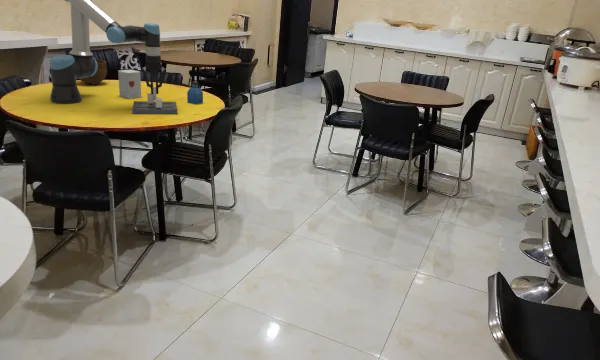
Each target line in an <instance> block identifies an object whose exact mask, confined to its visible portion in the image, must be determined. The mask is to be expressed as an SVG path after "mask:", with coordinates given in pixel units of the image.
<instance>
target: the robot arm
mask: <svg viewBox="0 0 600 360" xmlns="http://www.w3.org/2000/svg"><path fill="white" fill-rule="evenodd" d="M64 1H65V2H66V3H69V4H70V18H71V19H70V22H71V41H72V42H71V43H72V46H71V47H72V49H71V50H70V51H69V54H61V55H55V56H54V55H53V56H52V57H51V58H50V59H49V69H50V76H51V77H50V78H51V84H52V87H51V92H50V97H49V99H50V102H51V101H52V102H51V103H54V102H55V103H56V104H63V105H65V104H76V103H80V102H82V101H83V99H82V94H81V92H80V89H79V88H78V86H77V85H78V84H77V80H80V79H81V78H88V77H90V76H93V75H94V74H95V73H96V72H97V69H98V64H97V61H96V59H97V58H95V57H94V54H93V52H92V51H91V49H90V47H91V46H90V44H91V42H90V21H91V22H93V24H95V25H96V26H97V27H98V28H99V29H101V30H102V31H103V32H104V33H105V35H106V38H107V40H108V41H109V42H111V43H113V44H121V43H132V42H139V43H144V47H145V48H144V50H145V51H144V52H145V65H144V67H141V69H140V70H141V71H140V72H142V75H143V76H144V80H145V83H146V86H147V87H149V88H150V93H151V94H153V97H154V101H156V97H157V95H159V89H160V88H162V86H163V82H164V77H165V74H166V72H167V69H166V68H164V67H163V65H162V57H161V31H160V25H159V24H157V23H151V22H150V23H148V22H146V23H144V24H143V26H136V25H133V24H132V25H125V26H122V25H121V24H119V23H118V22H117V21H116V20H114V18H112V16H110V15H108V13H107V12H105V11H104V10H103V9H102V8H100V7H99V6H98V4H96V3H95V2H94V1H92V0H64ZM147 71H148V73H149V76H150V81H149V78H148V75H147ZM160 71H161V75H160V80H159V74H158V73H160ZM153 74H154V75H155V77H154V75H153ZM154 78H155V86H154ZM55 103H54V104H55Z"/></svg>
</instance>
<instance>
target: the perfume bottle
mask: <svg viewBox="0 0 600 360" xmlns="http://www.w3.org/2000/svg"><path fill="white" fill-rule="evenodd" d="M191 83H192V84H191V87H190V88H189V89H188V90H187V92H186V93H187V94H186V95H187V96H186V97H187V101H186V102H187V104H192V105H200V104H203V103H204V92H203V90H202V89H201V87H199V84H198V83H199V82H198V81H192V82H191Z"/></svg>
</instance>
